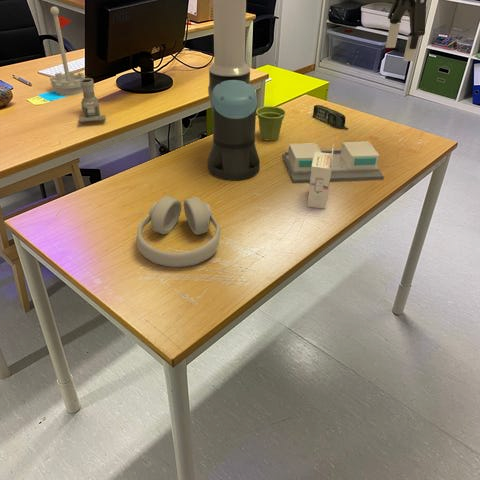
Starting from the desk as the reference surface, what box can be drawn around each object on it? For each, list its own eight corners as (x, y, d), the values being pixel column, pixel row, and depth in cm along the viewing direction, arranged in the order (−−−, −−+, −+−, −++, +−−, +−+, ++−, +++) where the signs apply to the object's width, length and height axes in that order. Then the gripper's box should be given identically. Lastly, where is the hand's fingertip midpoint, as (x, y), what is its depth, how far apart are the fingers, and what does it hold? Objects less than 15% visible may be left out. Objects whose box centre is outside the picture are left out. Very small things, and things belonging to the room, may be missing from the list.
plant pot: (289, 139, 152) (291, 114, 146) (265, 145, 148) (266, 119, 142) (273, 129, 158) (275, 104, 153) (249, 134, 154) (250, 109, 149)
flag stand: (57, 98, 176) (38, 11, 158) (49, 88, 185) (30, 4, 167) (91, 93, 181) (77, 8, 163) (82, 83, 190) (68, 1, 172)
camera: (99, 76, 162) (101, 91, 151) (104, 108, 169) (106, 125, 158) (73, 77, 160) (73, 93, 149) (79, 110, 167) (79, 128, 156)
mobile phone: (312, 104, 164) (345, 117, 155) (318, 103, 166) (351, 115, 156) (311, 118, 167) (343, 131, 158) (317, 116, 169) (349, 129, 159)
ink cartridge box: (308, 190, 126) (315, 139, 117) (327, 192, 126) (335, 142, 117) (306, 207, 120) (312, 154, 111) (325, 209, 119) (333, 157, 110)
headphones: (146, 213, 115) (133, 275, 101) (142, 188, 109) (128, 249, 95) (221, 214, 115) (218, 276, 101) (221, 189, 109) (218, 251, 95)
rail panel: (293, 183, 129) (295, 164, 126) (282, 156, 142) (283, 138, 138) (383, 179, 132) (387, 160, 129) (364, 153, 145) (368, 136, 141)
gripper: (453, -24, 112) (429, 66, 125) (412, -37, 132) (395, 42, 145) (423, -24, 111) (402, 67, 124) (386, -38, 131) (371, 42, 144)
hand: (398, 53), depth 134 cm, fingers open, 13 cm apart
